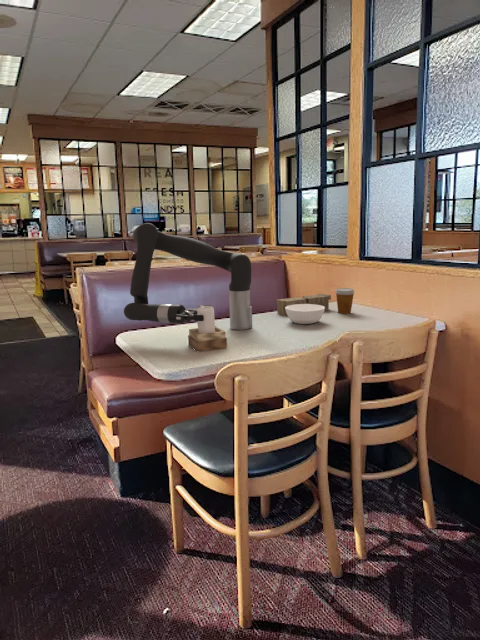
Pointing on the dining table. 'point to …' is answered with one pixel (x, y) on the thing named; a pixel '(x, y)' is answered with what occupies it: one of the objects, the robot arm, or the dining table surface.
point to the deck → (207, 344)
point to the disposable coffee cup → (344, 300)
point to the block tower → (303, 302)
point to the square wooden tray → (207, 334)
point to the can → (206, 319)
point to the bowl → (304, 313)
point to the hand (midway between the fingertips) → (208, 315)
